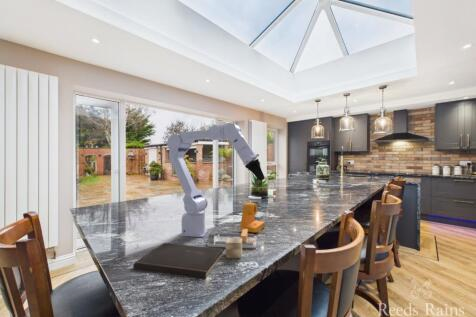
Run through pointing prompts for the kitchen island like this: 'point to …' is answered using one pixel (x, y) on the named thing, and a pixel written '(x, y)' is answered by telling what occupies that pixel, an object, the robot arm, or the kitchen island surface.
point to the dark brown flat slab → (180, 260)
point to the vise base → (221, 239)
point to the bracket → (250, 218)
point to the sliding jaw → (244, 235)
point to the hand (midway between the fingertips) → (262, 179)
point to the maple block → (234, 248)
